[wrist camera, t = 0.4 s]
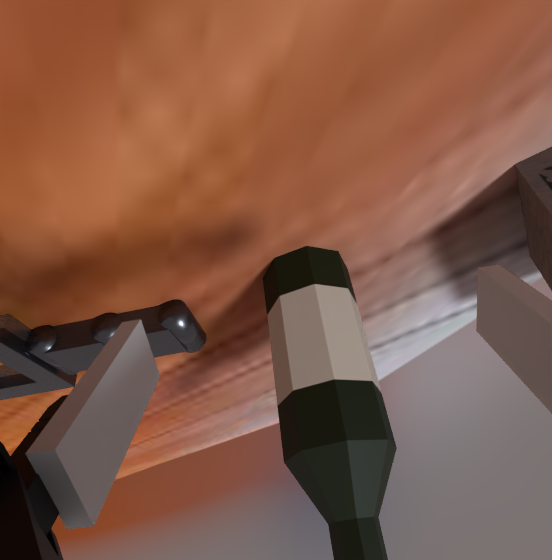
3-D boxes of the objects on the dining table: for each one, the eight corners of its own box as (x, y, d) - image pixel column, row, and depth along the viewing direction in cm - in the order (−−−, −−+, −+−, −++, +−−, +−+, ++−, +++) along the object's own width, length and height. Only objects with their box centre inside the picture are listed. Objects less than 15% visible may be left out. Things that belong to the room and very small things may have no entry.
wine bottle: (265, 301, 42) (311, 707, 25) (260, 251, 35) (319, 760, 18) (343, 293, 42) (443, 687, 25) (352, 241, 36) (499, 732, 18)
